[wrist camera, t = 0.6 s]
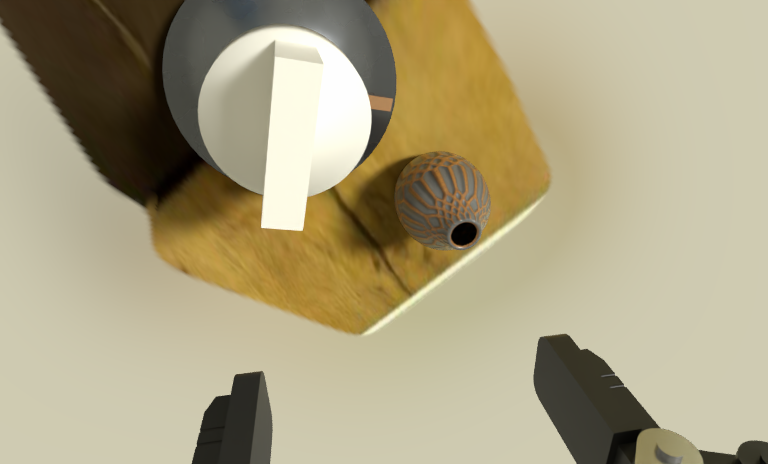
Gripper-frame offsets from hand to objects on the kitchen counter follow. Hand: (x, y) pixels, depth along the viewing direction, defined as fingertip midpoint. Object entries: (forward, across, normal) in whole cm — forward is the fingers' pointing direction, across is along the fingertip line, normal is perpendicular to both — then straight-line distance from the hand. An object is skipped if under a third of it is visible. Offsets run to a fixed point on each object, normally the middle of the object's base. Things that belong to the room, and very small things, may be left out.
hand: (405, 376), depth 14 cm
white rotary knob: (+18, +4, -4) cm, 19 cm away
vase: (+26, -7, +4) cm, 27 cm away
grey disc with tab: (+24, +4, -5) cm, 25 cm away
